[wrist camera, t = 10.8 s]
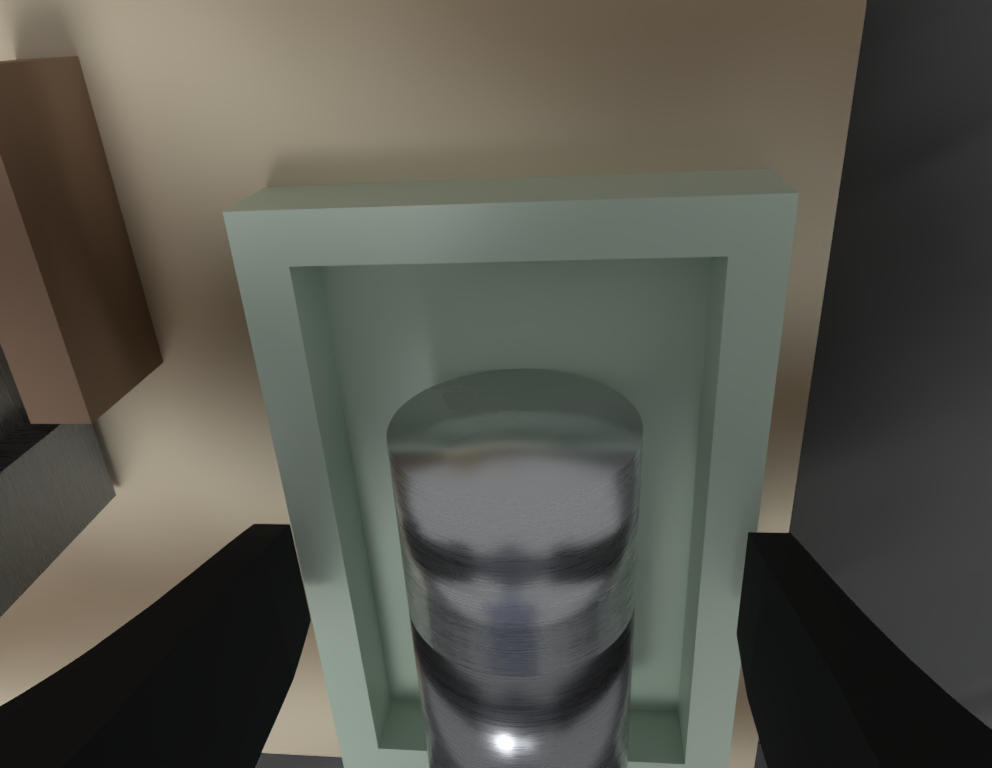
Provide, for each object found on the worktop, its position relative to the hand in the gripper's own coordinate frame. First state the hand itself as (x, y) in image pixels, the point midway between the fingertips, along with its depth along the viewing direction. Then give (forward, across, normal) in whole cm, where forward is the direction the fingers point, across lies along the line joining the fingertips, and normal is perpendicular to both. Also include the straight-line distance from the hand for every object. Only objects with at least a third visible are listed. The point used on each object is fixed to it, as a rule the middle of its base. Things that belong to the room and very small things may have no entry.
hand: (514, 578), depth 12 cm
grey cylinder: (+2, 0, +1) cm, 2 cm away
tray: (+2, 0, 0) cm, 2 cm away
